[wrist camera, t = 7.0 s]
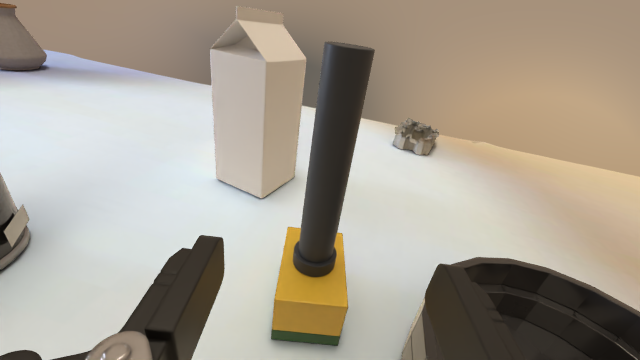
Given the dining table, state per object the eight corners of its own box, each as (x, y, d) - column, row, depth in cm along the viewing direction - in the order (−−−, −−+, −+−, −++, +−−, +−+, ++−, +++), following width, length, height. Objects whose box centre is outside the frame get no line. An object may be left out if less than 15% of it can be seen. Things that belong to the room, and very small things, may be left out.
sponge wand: (337, 345, 19) (416, 61, 11) (270, 339, 19) (295, 43, 10) (334, 267, 25) (383, 46, 17) (284, 262, 25) (307, 35, 17)
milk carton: (294, 177, 39) (311, 17, 30) (261, 200, 33) (269, 10, 24) (253, 161, 41) (256, 9, 32) (215, 180, 36) (206, 1, 26)
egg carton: (426, 158, 51) (433, 137, 49) (387, 145, 54) (392, 125, 52) (438, 143, 60) (445, 124, 58) (403, 132, 63) (408, 114, 61)
